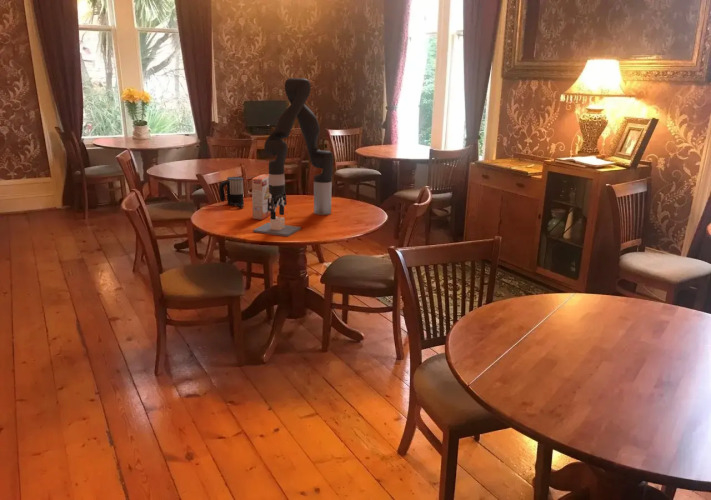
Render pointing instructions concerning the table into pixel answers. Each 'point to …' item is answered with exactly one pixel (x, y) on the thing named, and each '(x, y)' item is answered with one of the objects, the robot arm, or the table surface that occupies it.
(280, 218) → the cream cube
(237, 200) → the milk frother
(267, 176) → the cracker box
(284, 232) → the slate mat
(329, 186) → the robot arm
